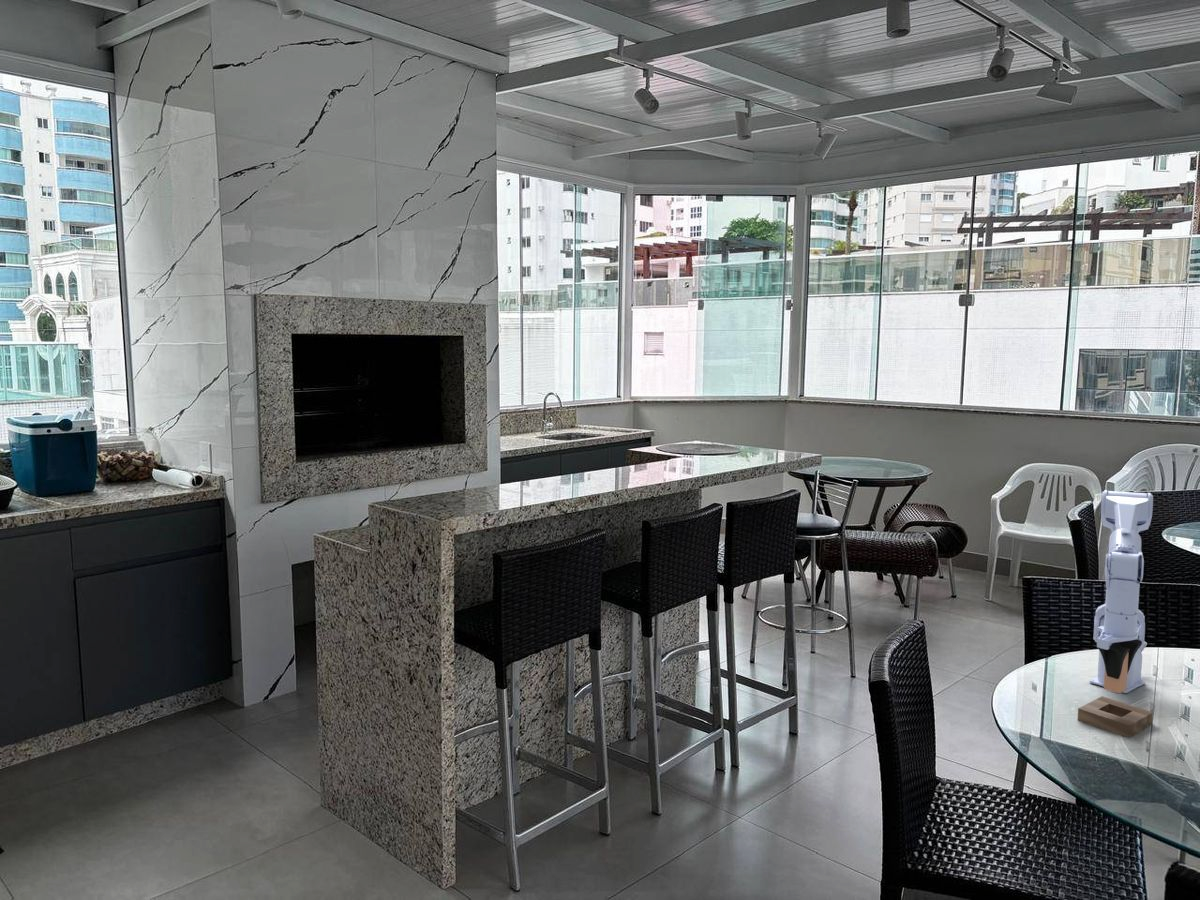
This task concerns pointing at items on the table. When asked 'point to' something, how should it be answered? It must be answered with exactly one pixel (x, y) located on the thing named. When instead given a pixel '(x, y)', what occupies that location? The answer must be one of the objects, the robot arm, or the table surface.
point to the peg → (1120, 683)
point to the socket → (1115, 716)
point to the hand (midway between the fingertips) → (1117, 675)
